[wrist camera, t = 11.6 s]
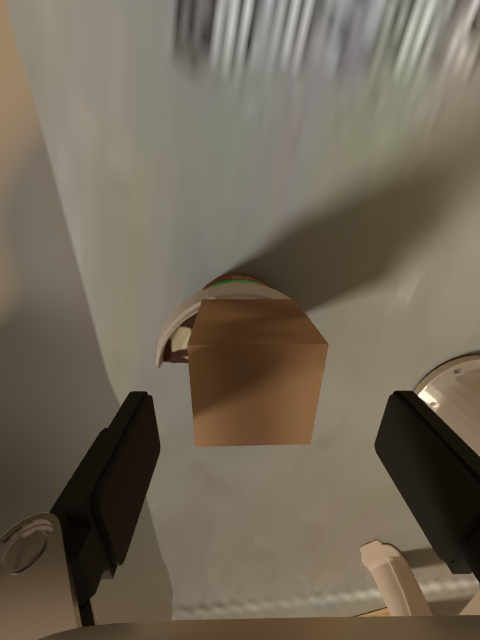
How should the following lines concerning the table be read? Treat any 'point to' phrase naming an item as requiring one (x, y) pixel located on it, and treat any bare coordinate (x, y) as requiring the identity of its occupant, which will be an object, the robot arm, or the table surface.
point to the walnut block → (254, 372)
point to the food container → (184, 315)
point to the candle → (394, 580)
